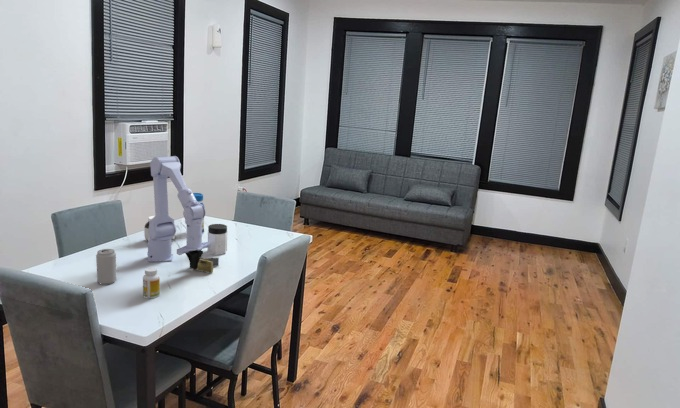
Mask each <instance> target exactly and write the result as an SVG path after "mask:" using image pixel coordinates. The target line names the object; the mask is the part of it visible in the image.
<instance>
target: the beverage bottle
mask: <svg viewBox="0 0 680 408" xmlns="http://www.w3.org/2000/svg"><path fill="white" fill-rule="evenodd" d="M193 194H194V196H195V198H196V200H197V202H199V203H200V204H202V205H203V206H204V207H205V204H204V203H203V201H204V194H203V193H201V192H199V193H198V192H193ZM204 233H205V217H204V218H202V235H203V234H204Z"/></svg>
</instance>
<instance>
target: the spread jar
mask: <svg viewBox="0 0 680 408" xmlns="http://www.w3.org/2000/svg"><path fill="white" fill-rule="evenodd" d="M154 217H155V215H151V216H150V215H149V216H148V218H147V219H148V221H146V223H145V225H144V230H143V233H144V239H145V240H146V241H147V242H148V239H151V237H150V236H149V233H148V228H149V221H150V220H151V219H152V218H154ZM175 239H176V235H173V238H171V241H173V240H175Z"/></svg>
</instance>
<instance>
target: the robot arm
mask: <svg viewBox="0 0 680 408" xmlns="http://www.w3.org/2000/svg"><path fill="white" fill-rule="evenodd" d="M149 162H150V163H149V164H150V176H151V177H152V178H153V179H152V180H153V194H154V195H153V197H154V213H155V214H154V216H155V217H154V218H152V219H151V220H150V221H149V228H148V233H149V236H150V237H151V239H148V241H147V252H146V253H147V254H146V255H147V262H149V263H150V262H172V261H173V255H174V254H173V253H172V240H171V238H173V235H175V234H176V232H177V227H176V224H175V219H174V218H173V217H171V216H170V215H169V214H170V213H169V199H168V197H169V196H168V178H169V179H170V180H171V182H172V183H173V185H174V187H175V189H176V190H177V198H178V200H179V202H180V204H181V207H182V208H183V213H182V214H183V218H184V223H185V225H186V245H184V246H182V247H180V248H177V249H176V254H177V255H178V256H182V255H184V254H185V255H186V257H187V259H188V262H189V266H190V265H191V268H190V269H192V270H196V269H197V266H198V263H199V260H200V258H202V256H203V254H204V251H203V249H208V248H210V247H211V243H209V242H208V241H206V242H203V240H202V238H203V234H202V218H204V219H205V217H206V209H205V205H204V206H203V205H202V204H200V203H199V202H197V200H196V198H195V196H194V194H193V193H194V192H193V190H192V189H191V188H189V187H187V184H186V182H185V180H184V177H183V175H182V173H181V168H182V164H181V162H180V159H179V157H178V156H176V155H173V156H172V155H171V156H159V157H158V156H154V157H153V158H152V159H151V161H149ZM175 236H176V235H175Z"/></svg>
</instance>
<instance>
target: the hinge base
mask: <svg viewBox="0 0 680 408" xmlns="http://www.w3.org/2000/svg"><path fill="white" fill-rule="evenodd" d="M200 259H203V260H208V261H213V267H219V262H220V261H219V257H204V258H203V257H201V258H200ZM189 269H192V268H191V265H190V264H189Z"/></svg>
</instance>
